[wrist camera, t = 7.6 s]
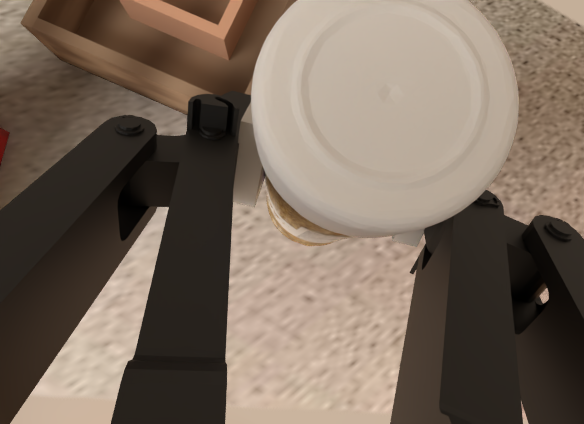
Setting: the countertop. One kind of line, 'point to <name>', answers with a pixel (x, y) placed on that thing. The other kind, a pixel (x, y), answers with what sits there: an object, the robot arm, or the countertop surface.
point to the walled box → (151, 47)
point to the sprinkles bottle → (380, 115)
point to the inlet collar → (195, 23)
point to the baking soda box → (3, 142)
